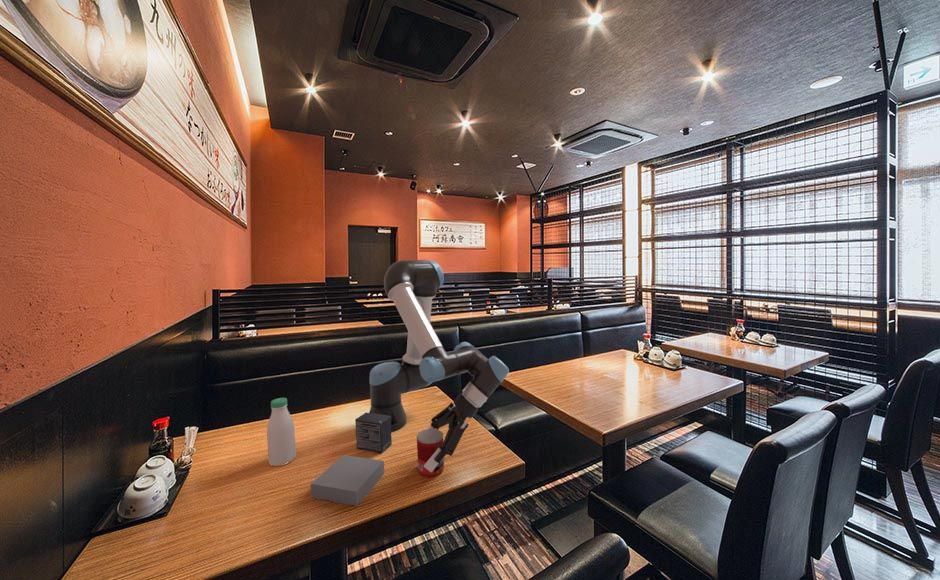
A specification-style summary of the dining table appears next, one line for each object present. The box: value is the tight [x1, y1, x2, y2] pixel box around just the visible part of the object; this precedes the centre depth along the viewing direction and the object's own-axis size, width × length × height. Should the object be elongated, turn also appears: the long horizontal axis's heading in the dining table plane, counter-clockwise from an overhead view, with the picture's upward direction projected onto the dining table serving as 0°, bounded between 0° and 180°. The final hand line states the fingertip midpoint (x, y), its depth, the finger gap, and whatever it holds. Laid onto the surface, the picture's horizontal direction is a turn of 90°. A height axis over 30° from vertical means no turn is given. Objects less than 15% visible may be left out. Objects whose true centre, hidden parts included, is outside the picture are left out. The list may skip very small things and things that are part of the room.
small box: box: [355, 412, 393, 454], centre depth 115 cm, size 11×6×10 cm, turn 71°
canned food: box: [416, 428, 445, 478], centre depth 101 cm, size 8×8×11 cm
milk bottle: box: [266, 397, 297, 466], centre depth 108 cm, size 8×8×20 cm
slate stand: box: [310, 454, 385, 507], centre depth 95 cm, size 14×14×4 cm
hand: (423, 456), depth 101 cm, fingers open, 13 cm apart
